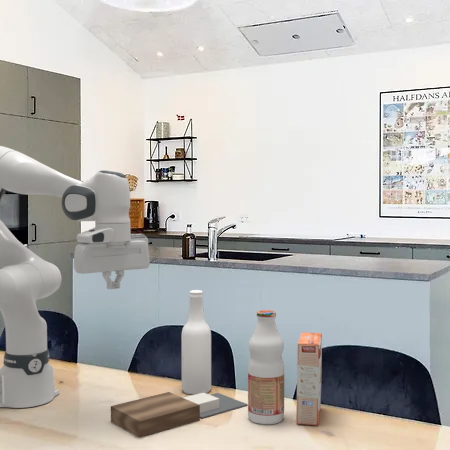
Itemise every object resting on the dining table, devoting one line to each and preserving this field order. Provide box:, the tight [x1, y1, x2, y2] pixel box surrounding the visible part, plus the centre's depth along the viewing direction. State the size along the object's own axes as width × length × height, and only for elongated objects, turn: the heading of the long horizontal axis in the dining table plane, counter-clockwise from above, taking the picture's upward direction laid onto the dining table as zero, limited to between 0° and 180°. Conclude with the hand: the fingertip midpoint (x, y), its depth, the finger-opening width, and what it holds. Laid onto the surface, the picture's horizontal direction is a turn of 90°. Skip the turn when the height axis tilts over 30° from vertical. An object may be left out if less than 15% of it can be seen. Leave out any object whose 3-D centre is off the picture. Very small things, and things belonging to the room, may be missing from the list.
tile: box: [183, 392, 219, 413], centre depth 161 cm, size 7×9×2 cm
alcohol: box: [181, 289, 212, 396], centre depth 177 cm, size 9×9×30 cm
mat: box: [200, 392, 248, 420], centre depth 164 cm, size 13×16×1 cm
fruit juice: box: [247, 309, 285, 425], centre depth 154 cm, size 9×9×28 cm
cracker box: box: [295, 331, 323, 426], centre depth 156 cm, size 14×6×21 cm, turn 168°
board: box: [110, 391, 201, 439], centre depth 153 cm, size 14×18×4 cm
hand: (113, 288), depth 152 cm, fingers closed
